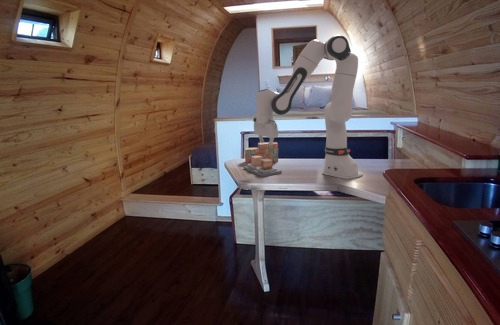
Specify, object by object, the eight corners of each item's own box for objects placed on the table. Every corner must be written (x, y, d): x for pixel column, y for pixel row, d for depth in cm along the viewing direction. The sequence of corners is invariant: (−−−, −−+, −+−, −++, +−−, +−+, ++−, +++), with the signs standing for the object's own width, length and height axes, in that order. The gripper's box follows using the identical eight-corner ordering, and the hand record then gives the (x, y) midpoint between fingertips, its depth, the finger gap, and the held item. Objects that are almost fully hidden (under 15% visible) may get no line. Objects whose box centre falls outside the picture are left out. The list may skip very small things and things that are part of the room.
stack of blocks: (246, 163, 203) (245, 145, 200) (245, 161, 209) (244, 143, 207) (278, 161, 206) (278, 143, 203) (276, 159, 212) (276, 141, 209)
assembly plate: (281, 173, 178) (281, 160, 176) (262, 176, 172) (261, 163, 170) (261, 165, 197) (261, 153, 195) (243, 168, 191) (242, 156, 189)
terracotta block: (272, 170, 179) (272, 160, 178) (264, 171, 177) (264, 161, 175) (267, 168, 183) (267, 158, 182) (260, 169, 181) (260, 159, 180)
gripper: (280, 119, 166) (281, 145, 169) (260, 117, 183) (261, 140, 186) (270, 120, 163) (271, 147, 166) (251, 118, 180) (252, 142, 184)
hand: (266, 143), depth 176 cm, fingers open, 8 cm apart
